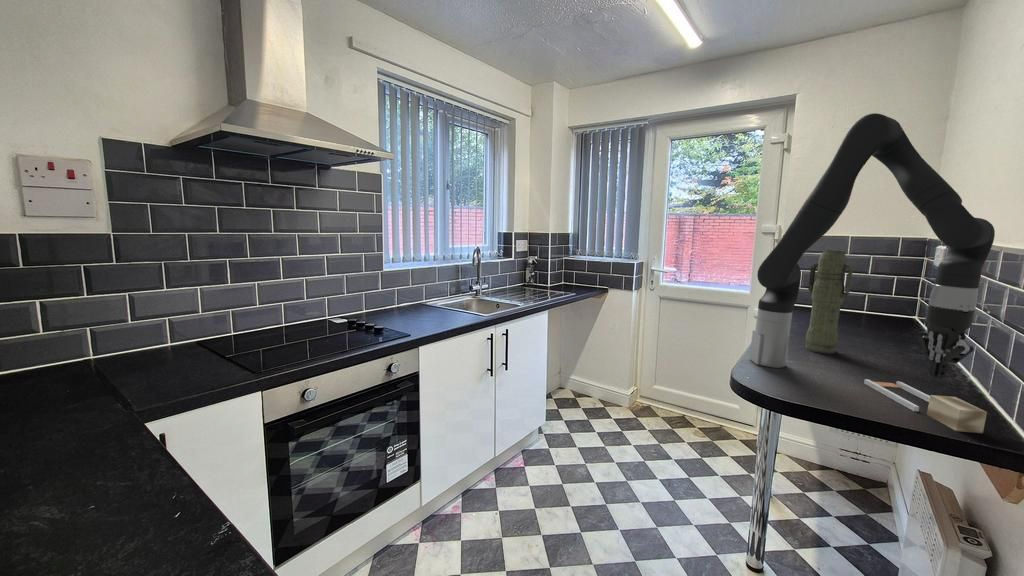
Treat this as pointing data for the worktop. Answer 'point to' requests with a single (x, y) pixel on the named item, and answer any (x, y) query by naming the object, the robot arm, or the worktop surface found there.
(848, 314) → the worktop surface
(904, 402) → the channel
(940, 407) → the beech block
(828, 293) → the thermos
